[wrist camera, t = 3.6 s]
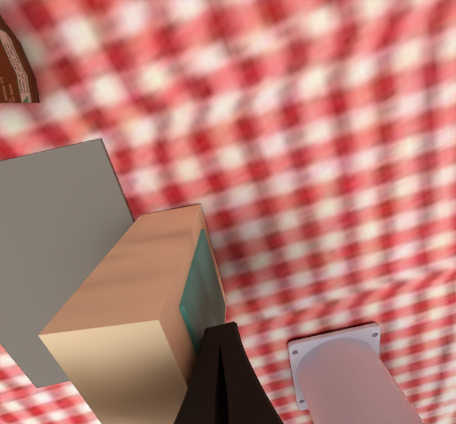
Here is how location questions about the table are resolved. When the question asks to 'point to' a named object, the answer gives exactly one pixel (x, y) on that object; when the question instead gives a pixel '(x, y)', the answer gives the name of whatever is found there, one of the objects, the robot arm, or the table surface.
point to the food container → (15, 70)
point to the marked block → (141, 319)
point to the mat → (52, 242)
